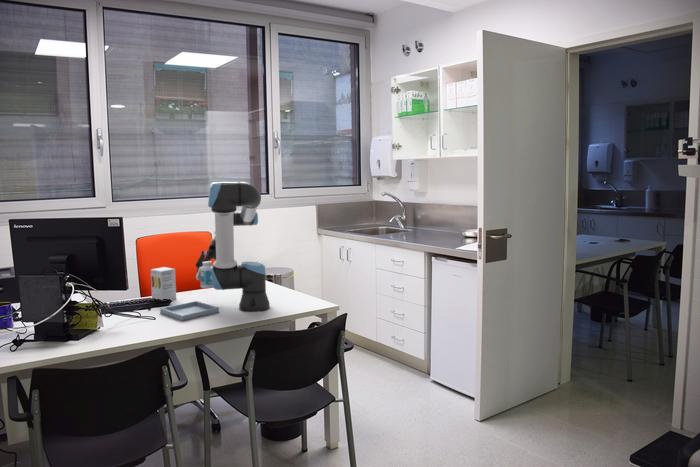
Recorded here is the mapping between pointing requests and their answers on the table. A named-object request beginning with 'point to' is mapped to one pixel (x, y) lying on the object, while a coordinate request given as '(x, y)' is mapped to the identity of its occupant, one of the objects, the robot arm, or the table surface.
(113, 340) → the table surface
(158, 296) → the supplement box
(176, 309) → the tray
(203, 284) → the pill bottle
